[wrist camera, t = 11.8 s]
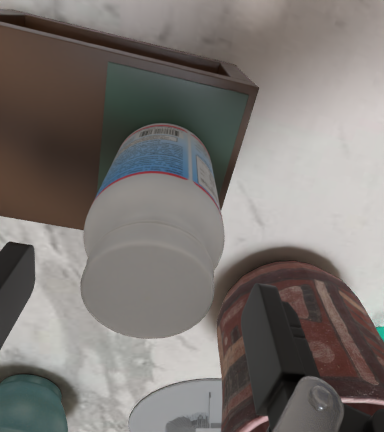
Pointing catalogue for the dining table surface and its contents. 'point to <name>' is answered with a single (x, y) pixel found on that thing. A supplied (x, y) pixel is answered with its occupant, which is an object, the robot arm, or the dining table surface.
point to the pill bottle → (154, 236)
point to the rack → (100, 111)
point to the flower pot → (31, 405)
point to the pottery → (314, 333)
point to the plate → (180, 408)
